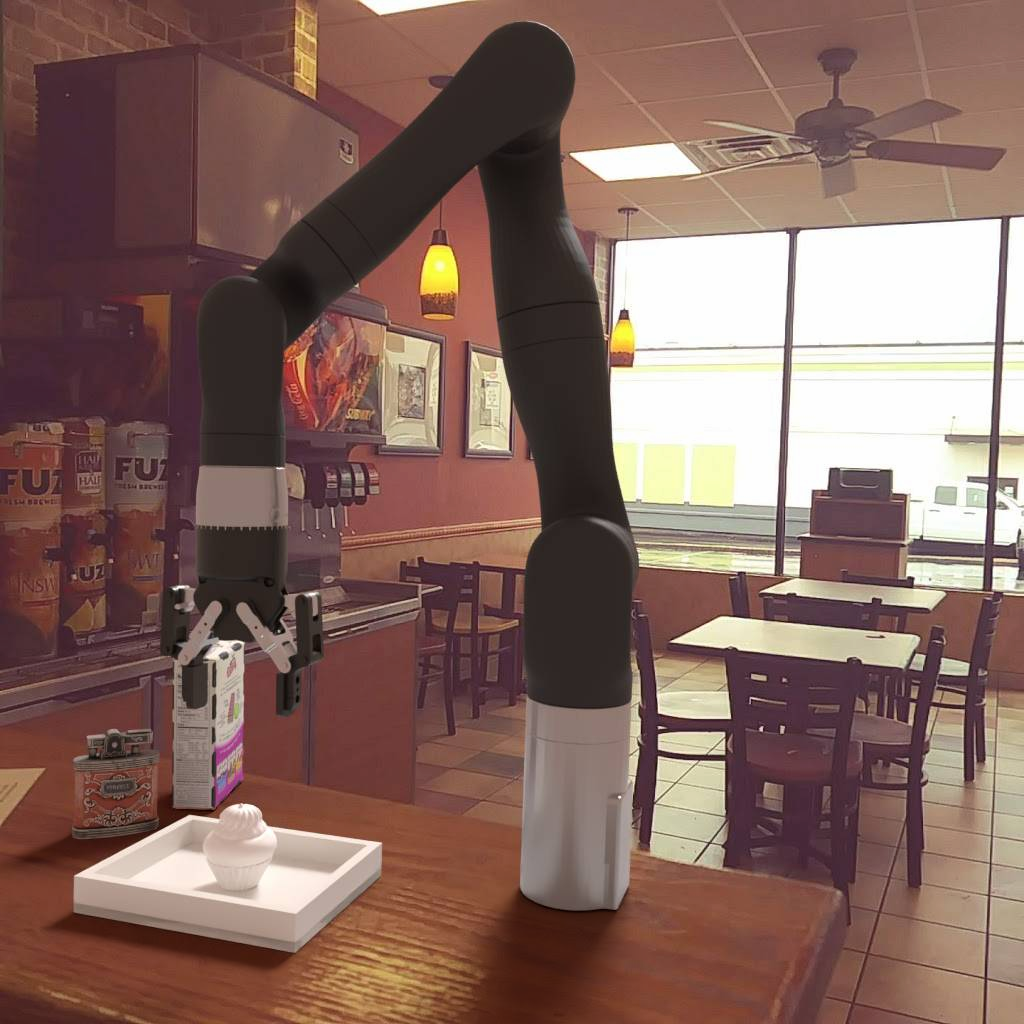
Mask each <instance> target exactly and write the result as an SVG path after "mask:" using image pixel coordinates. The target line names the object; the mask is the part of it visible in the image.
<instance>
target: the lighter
mask: <svg viewBox="0 0 1024 1024" xmlns="http://www.w3.org/2000/svg"><path fill="white" fill-rule="evenodd" d="M153 741H154V732H153V730H152V729H151V728H143V729H142V728H141V729H129V730H127V732H120V730H118V729H117V728H112V729H108V730H107V731H106V732H105V734H104V733H102V734H93V735H90V734H89V735H87V736H86V747H87V753H88V754H85V755H79V756H76V757H74V758H73V760H72V761H73V763H72V764H73V765H72V766H73V767H72V768H73V769H74V807H73V808H74V811H73V813H74V818H73V821H74V822H73V823H74V824H72V828H71V837H72V838H73V839H78V840H88V839H102V838H112V837H121V836H127V835H132V834H141V833H144V832H145V833H146V832H149V831H150V830H151V831H153V830H156V829H158V828H159V821H160V820H159V816H158V782H159V780H158V779H159V778H158V776H159V775H158V774H159V772H158V771H159V762H160V761H161V760H160V759H161V752H160V751H159V750H156V749H140V748H141V747H140V745H142V744H152V743H153ZM130 745H131V746H130ZM125 746H130V750H127V749H126V748H125ZM99 748H100V749H99ZM98 750H99V753H98ZM157 827H158V828H157ZM152 829H153V830H152ZM151 831H150V832H151Z"/></svg>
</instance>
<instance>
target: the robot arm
mask: <svg viewBox="0 0 1024 1024" xmlns="http://www.w3.org/2000/svg"><path fill="white" fill-rule="evenodd" d="M469 56H470V57H468V59H467V60H466V61H465V62H464V63H463V64H462V66H461V67H460V68H459V69H458V71H457V72H456V73H455V74H454V75H453V76H452V78H450V80H449V81H448V83H447V84H446V85H445V86H444V87H443V89H442V90H441V91H440V92H439V93H438V94H437V95H436V96H435V97H434V98H433V99H432V100H431V102H430V103H429V104H428V105H427V106H426V107H425V108H423V110H422V111H421V112H420V114H418V116H416V117H415V118H414V119H413V120H412V121H411V122H410V123H409V124H408V125H407V126H406V127H405V128H404V129H403V130H402V131H401V132H400V133H399V134H398V135H397V136H395V137H394V138H393V140H391V141H390V142H389V143H388V144H386V146H385V147H384V148H383V149H381V150H380V151H379V152H378V153H377V154H376V155H375V156H373V157H372V158H371V159H370V160H369V161H367V163H365V164H364V165H363V166H362V167H361V168H359V170H357V171H356V172H355V173H354V174H352V175H351V176H350V177H349V178H348V179H347V180H345V181H344V182H343V183H342V184H341V185H339V187H337V188H336V189H335V190H334V191H332V192H330V194H329V195H327V196H326V197H325V198H323V200H321V201H320V202H318V204H317V205H316V206H315V207H313V208H312V209H311V210H309V211H308V212H306V214H305V215H304V216H303V217H301V218H300V219H299V220H298V221H297V222H295V223H294V225H292V226H291V227H290V228H289V229H288V230H287V231H286V232H285V233H284V235H282V237H281V238H280V240H279V243H278V244H277V246H276V248H275V250H274V251H273V253H272V254H271V255H269V257H267V258H266V259H265V260H264V261H263V262H262V263H261V264H259V265H258V266H257V267H256V268H255V269H253V270H252V271H251V272H250V273H248V275H233V276H228V277H225V278H223V279H221V280H218V281H217V282H216V283H214V284H213V285H212V286H211V287H210V288H209V289H208V290H207V291H206V292H205V293H204V295H203V297H202V298H201V301H200V303H199V306H198V310H197V315H196V316H197V317H196V318H197V319H196V344H197V359H198V372H199V373H198V374H199V382H200V383H199V384H200V391H201V392H200V393H201V414H200V423H199V465H200V466H199V470H198V479H197V485H196V493H195V494H196V495H195V496H196V497H195V573H196V575H197V579H198V583H197V586H196V588H194V587H191V586H189V585H188V584H179V585H178V584H177V585H174V586H169V587H165V588H164V590H163V592H162V603H161V604H162V605H161V606H162V607H161V622H160V624H161V625H160V638H159V639H160V640H159V642H160V643H159V652H160V654H161V656H163V657H164V658H165V657H171V658H172V659H173V658H175V659H177V660H178V661H179V662H180V664H181V666H182V698H183V701H184V702H186V707H187V708H188V709H199V708H201V707H204V706H206V704H207V701H208V663H203V660H204V659H205V657H206V656H207V655H208V653H209V652H210V651H211V649H212V648H213V646H214V645H215V644H216V643H217V642H219V641H234V640H235V641H242V642H245V643H251V644H252V643H255V642H257V644H258V645H259V646H260V648H261V649H262V651H263V652H265V653H267V654H268V655H269V656H270V658H271V660H272V662H273V663H274V665H275V666H276V667H277V669H278V670H279V672H276V674H275V715H276V717H278V718H287V717H290V716H292V715H294V714H295V713H296V710H297V709H298V708H300V706H301V704H302V688H303V687H302V685H303V683H302V681H303V679H302V676H303V675H302V674H303V670H304V669H305V668H306V667H309V666H312V665H314V664H316V663H320V662H322V661H323V659H324V657H325V651H324V649H325V648H324V626H323V625H324V624H323V623H324V622H323V604H322V603H323V602H322V600H323V599H322V595H321V594H320V592H319V591H315V590H314V591H309V592H305V593H299V594H298V593H292V594H290V593H289V591H288V589H287V586H286V578H287V573H288V554H289V553H288V552H289V551H288V545H289V544H288V541H289V540H288V536H289V533H288V532H289V529H288V527H289V523H288V522H289V490H288V484H287V483H288V482H287V476H286V475H287V473H286V468H285V467H286V456H287V455H286V449H287V448H286V447H287V446H286V445H287V443H286V441H287V439H286V436H287V435H286V434H287V433H286V419H285V417H286V416H285V411H284V406H283V385H284V384H283V381H284V368H285V367H284V365H285V364H284V361H285V352H286V351H287V350H288V349H289V348H290V347H291V346H292V345H293V344H294V343H295V342H296V341H297V340H298V339H299V338H300V337H301V336H302V335H303V334H304V333H306V331H307V330H308V329H309V328H310V327H311V326H312V325H313V323H315V322H316V320H318V319H319V317H320V316H321V315H322V314H323V313H324V312H325V311H326V310H327V309H328V308H329V307H330V306H331V305H332V304H333V303H334V302H336V301H337V300H339V299H340V298H341V297H343V296H344V295H346V294H347V293H348V292H350V291H351V290H352V289H353V288H355V286H357V285H358V284H360V283H361V282H362V281H363V280H364V279H365V278H366V277H367V276H368V275H370V274H371V273H372V272H374V270H376V269H377V268H378V267H379V266H380V265H381V264H382V263H383V262H385V261H386V260H387V259H388V258H389V257H390V256H391V255H392V254H393V253H394V252H396V250H397V249H398V248H399V247H400V246H401V245H403V243H404V242H405V241H406V240H407V239H408V238H409V237H410V236H411V235H412V234H413V233H414V232H415V230H417V228H418V227H419V226H420V224H422V222H423V221H424V220H425V219H426V218H427V217H428V215H429V214H430V213H431V212H432V211H433V210H434V209H435V207H436V206H438V205H439V203H440V202H441V201H442V200H443V199H444V197H446V195H448V193H449V192H450V191H451V190H452V189H453V188H454V187H455V186H456V185H457V184H458V183H459V182H460V181H461V180H462V179H464V177H465V176H466V175H468V173H470V172H471V171H472V170H473V169H474V168H477V172H478V177H479V181H480V184H481V188H482V192H483V196H484V201H485V206H486V211H487V212H486V213H487V218H488V219H487V220H488V227H489V228H488V230H489V248H490V249H489V251H490V265H491V266H490V267H491V275H492V276H491V277H492V279H491V280H492V286H493V287H492V288H493V297H494V307H495V317H496V318H495V319H496V324H497V331H498V337H499V338H498V339H499V345H500V352H501V359H502V364H503V369H504V374H505V378H506V381H507V385H508V390H509V392H510V396H511V399H512V402H513V404H514V407H515V411H516V413H517V416H518V420H519V422H520V424H521V425H520V426H521V428H522V431H523V433H524V435H525V438H526V442H527V444H528V448H529V449H530V450H529V451H530V453H531V456H532V460H533V464H534V469H535V473H536V479H537V481H536V482H537V487H538V495H539V496H538V498H539V508H540V509H539V510H540V527H541V528H540V529H541V531H540V533H539V534H538V535H537V537H535V539H534V541H532V543H531V546H530V547H529V550H528V553H527V556H526V561H525V562H526V563H525V567H524V576H523V577H524V581H523V621H522V622H523V624H522V625H523V627H522V628H523V632H522V633H523V634H522V635H523V637H522V640H523V641H522V644H523V645H522V646H523V647H522V654H523V655H522V656H523V665H524V668H525V674H526V700H525V701H526V702H525V705H526V706H525V729H524V730H525V731H524V734H525V735H524V757H523V759H524V761H523V762H524V764H523V789H522V790H523V793H522V795H523V796H522V822H521V823H522V825H521V849H520V850H521V851H520V852H521V853H520V854H521V855H520V864H519V867H520V868H519V871H520V878H519V879H520V883H519V884H520V885H519V886H520V890H521V892H522V894H523V895H524V896H525V897H526V898H527V899H528V900H531V901H533V902H534V903H536V904H540V905H543V906H545V907H549V908H553V909H557V910H558V909H559V910H566V911H592V910H600V909H601V910H602V909H603V910H604V909H605V910H606V909H607V910H613V911H614V910H616V911H617V910H618V909H619V906H620V905H621V903H622V901H623V899H624V896H625V894H626V892H627V891H628V888H629V885H630V875H631V871H630V870H631V847H632V845H631V844H632V843H631V841H632V821H633V820H632V819H633V817H632V816H633V793H634V784H633V780H632V779H629V775H630V746H631V724H632V723H631V722H632V721H631V720H632V717H631V716H632V698H633V681H634V680H633V677H634V675H633V669H632V656H631V654H632V653H631V647H632V646H631V642H632V641H631V640H632V618H633V617H632V612H633V610H632V609H633V591H634V589H635V588H636V587H635V586H636V583H637V582H638V578H639V572H640V558H639V552H638V549H637V544H636V542H635V538H634V536H633V535H634V534H633V531H632V527H631V524H630V521H629V515H628V513H627V508H626V506H625V505H626V504H625V500H624V496H623V493H622V492H623V491H622V489H621V484H620V479H619V476H618V475H619V474H618V470H617V465H616V461H615V460H616V459H615V452H614V441H613V420H612V419H613V418H612V417H613V416H612V400H611V389H610V387H611V386H610V376H609V375H610V374H609V367H608V358H607V357H608V356H607V347H606V339H605V331H604V324H603V319H602V317H603V316H602V311H601V310H602V309H601V305H600V303H601V302H600V298H599V294H598V289H597V285H596V282H595V277H594V275H593V272H592V269H591V266H590V264H589V261H588V258H587V256H586V255H587V254H586V253H585V251H584V248H583V247H582V244H581V242H580V239H579V237H578V235H577V232H576V230H575V228H574V225H573V223H572V220H571V216H570V214H569V210H568V207H567V201H566V195H565V189H564V180H563V179H564V178H563V168H562V154H561V150H562V149H561V148H562V147H561V129H562V123H563V120H564V118H565V117H566V114H567V112H568V111H569V108H570V106H571V105H570V104H571V103H572V100H573V97H574V92H575V87H576V86H575V85H576V81H577V77H576V74H577V73H576V72H577V71H576V65H575V64H576V63H575V59H574V56H573V53H572V50H571V49H570V47H569V45H568V43H567V42H566V41H565V39H564V38H563V37H562V36H561V35H560V34H559V33H558V32H557V31H556V30H554V29H552V28H551V27H549V26H548V25H545V24H543V23H540V22H537V21H531V20H518V21H517V20H515V21H513V22H509V23H506V24H503V25H501V26H500V27H497V28H496V29H494V30H493V31H492V32H490V33H489V34H488V35H486V37H485V38H484V39H483V40H482V41H481V42H480V44H479V45H478V47H476V48H475V50H474V51H473V53H472V54H471V55H469ZM194 607H196V609H197V610H198V612H199V614H200V615H201V616H202V617H200V620H199V621H198V622H197V624H196V626H195V627H194V628H193V629H192V631H191V632H190V627H191V626H190V625H191V612H192V611H193V610H194ZM288 609H289V610H290V616H291V617H292V618H293V619H294V620H295V635H296V644H295V641H294V635H293V633H292V632H291V631H290V629H289V628H288V626H287V624H286V623H285V621H284V620H283V616H284V614H285V613H286V612H287V611H288Z"/></svg>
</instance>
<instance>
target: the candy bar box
mask: <svg viewBox="0 0 1024 1024" xmlns="http://www.w3.org/2000/svg"><path fill="white" fill-rule="evenodd" d="M245 643H246V642H242V641H239V640H229V641H219V642H217V643H216V644H215V645H214V646H213V648H212V649H211V651H210V652H209V653H208V655H207V656H206V657H205V659H204V660H203V663H208V701H207V704H206V706H204V707H201V708H199V709H188V708H187V707H186V702H184V701H183V698H182V666H181V664H180V662H179V661H178V660H177V659H175V658H173V657H172V707H171V708H172V709H171V710H172V712H171V713H172V739H171V740H172V742H171V743H172V747H171V748H172V753H171V754H172V760H171V761H172V762H171V763H172V767H171V769H172V770H171V771H172V773H171V775H172V776H171V777H172V778H171V779H172V781H171V782H172V783H171V785H172V786H171V792H172V794H171V807H172V809H173V807H174V808H175V807H181V808H182V807H184V808H185V807H186V808H190V807H191V808H215V807H216V806H217V805H218V804H219V803H220V802H221V800H223V799H224V798H225V797H226V796H227V795H228V794H229V793H230V792H231V791H232V790H233V789H234V788H235V789H236V788H237V786H239V784H240V783H241V782H242V781H243V780H244V752H245V751H244V750H245V749H244V743H245V742H244V741H245V740H244V732H245V731H244V730H245V729H244V728H245V725H244V724H245V646H246V645H245ZM235 789H234V790H235ZM234 790H233V791H234ZM233 791H232V792H233ZM232 792H231V793H232ZM231 793H230V794H231ZM230 794H229V795H230ZM229 795H228V796H229ZM228 796H227V797H228Z"/></svg>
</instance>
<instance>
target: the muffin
mask: <svg viewBox="0 0 1024 1024" xmlns="http://www.w3.org/2000/svg"><path fill="white" fill-rule="evenodd" d="M218 819H219V822H218V823H217V824H216V826H215V829H214V830H213V831H212V832H211V833H210V834H209V835H208V836H207V837H206V838H205V840H204V842H203V851H204V854H205V856H206V857H207V858H206V859H207V860H206V861H207V863H208V865H209V867H210V869H211V870H212V872H213V874H214V876H215V878H216V880H217V881H218V883H219V885H220V887H222V888H223V889H225V890H230V891H243V890H247V889H251V888H253V887H255V886H256V885H258V883H259V882H260V880H261V878H262V876H263V874H264V872H265V870H266V869H267V867H268V865H269V863H270V861H271V859H272V856H273V852H274V851H275V849H276V846H277V838H276V835H275V834H274V832H273V831H272V830H271V829H269V828H268V827H267V826H268V824H267V823H266V822H265V821H264V820H263V813H262V811H261V810H260V809H259V808H258V807H256V806H255V805H252V804H248V803H244V804H243V803H242V802H241V803H238V804H237V803H236V804H232V805H230V806H228V807H226V808H225V809H223V811H221V812H220V814H219V818H218Z"/></svg>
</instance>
